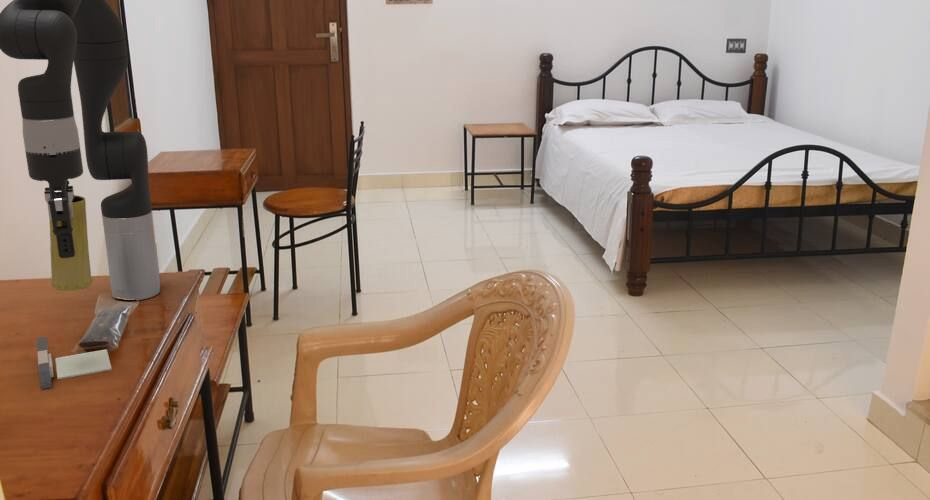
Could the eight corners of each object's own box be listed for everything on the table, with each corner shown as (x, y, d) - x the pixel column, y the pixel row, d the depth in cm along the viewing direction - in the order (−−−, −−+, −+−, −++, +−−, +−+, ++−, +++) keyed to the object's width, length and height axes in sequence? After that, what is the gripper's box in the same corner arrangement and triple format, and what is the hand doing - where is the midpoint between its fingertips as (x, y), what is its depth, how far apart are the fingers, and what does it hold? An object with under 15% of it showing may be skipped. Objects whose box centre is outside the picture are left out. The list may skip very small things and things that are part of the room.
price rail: (39, 354, 137) (36, 336, 136) (51, 352, 138) (48, 334, 137) (41, 389, 125) (38, 370, 124) (54, 387, 126) (52, 368, 125)
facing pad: (55, 359, 135) (55, 358, 135) (106, 350, 139) (106, 349, 138) (57, 379, 128) (57, 378, 128) (111, 369, 132) (111, 368, 132)
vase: (42, 287, 127) (35, 200, 123) (67, 276, 132) (62, 192, 128) (76, 293, 126) (71, 205, 122) (100, 281, 131) (96, 197, 127)
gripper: (27, 139, 127) (42, 240, 132) (22, 157, 114) (39, 268, 120) (79, 136, 130) (92, 236, 135) (79, 153, 117) (94, 262, 123)
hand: (67, 250), depth 127 cm, fingers closed on vase, 5 cm apart
